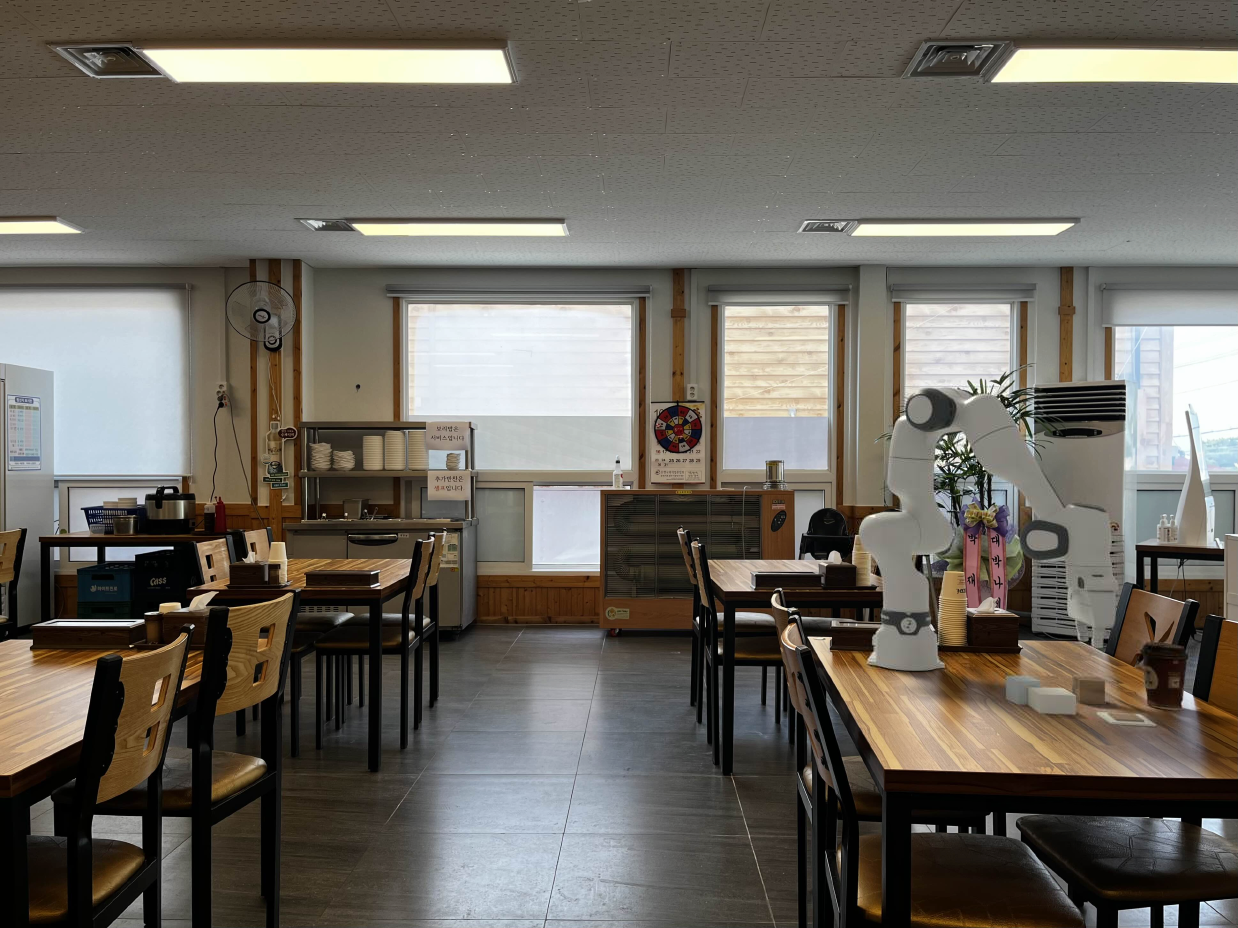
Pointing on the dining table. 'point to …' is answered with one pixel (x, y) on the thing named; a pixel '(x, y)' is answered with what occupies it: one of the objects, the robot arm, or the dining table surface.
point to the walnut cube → (1088, 689)
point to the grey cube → (1020, 688)
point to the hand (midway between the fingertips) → (1090, 643)
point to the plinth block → (1051, 700)
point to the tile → (1126, 719)
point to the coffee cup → (1164, 674)
